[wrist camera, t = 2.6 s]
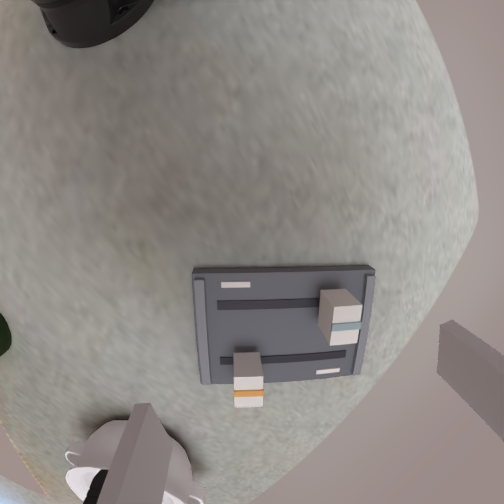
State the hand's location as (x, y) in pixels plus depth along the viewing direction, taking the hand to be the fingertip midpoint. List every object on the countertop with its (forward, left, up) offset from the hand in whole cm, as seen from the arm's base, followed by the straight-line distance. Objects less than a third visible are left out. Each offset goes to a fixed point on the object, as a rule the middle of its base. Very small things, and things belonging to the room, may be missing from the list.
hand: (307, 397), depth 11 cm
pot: (-18, -31, -23) cm, 42 cm away
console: (+3, -8, -23) cm, 24 cm away
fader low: (-2, -11, -20) cm, 23 cm away
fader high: (+7, -4, -20) cm, 22 cm away
